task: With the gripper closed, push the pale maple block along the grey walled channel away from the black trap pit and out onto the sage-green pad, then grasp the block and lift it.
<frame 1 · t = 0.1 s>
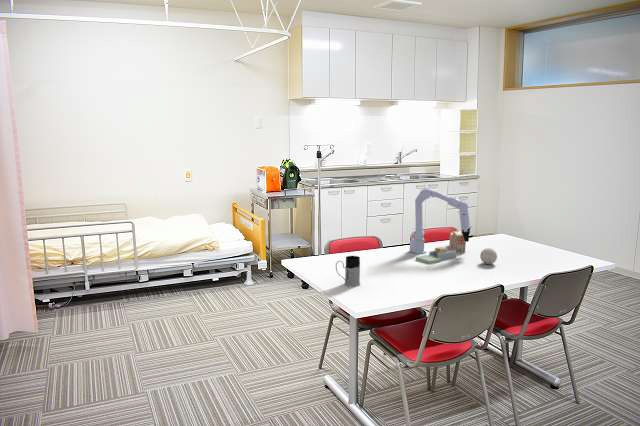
hand: (466, 240, 343), 10 cm above the table, tool pointing down, fingers open, 7 cm apart
stack of blocks: (456, 249, 363), on the table
maple block: (440, 255, 337), point 2 cm above the table, touching trap channel
trap channel: (439, 258, 337), on the table
eye model: (488, 264, 325), on the table
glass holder: (347, 285, 282), on the table
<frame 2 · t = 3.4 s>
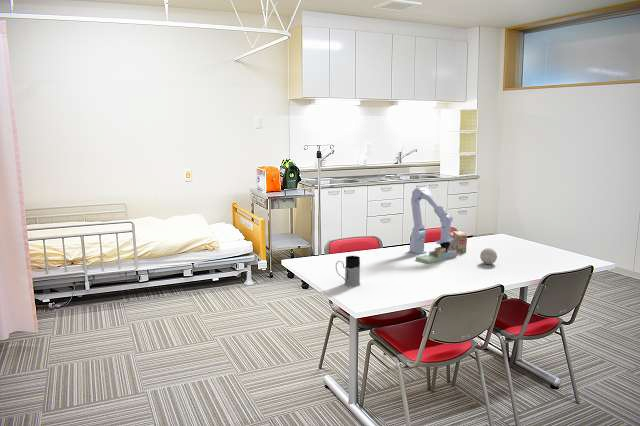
hand: (444, 253, 339), 3 cm above the table, tool pointing down, fingers closed
maple block: (439, 255, 337), point 2 cm above the table, touching gripper
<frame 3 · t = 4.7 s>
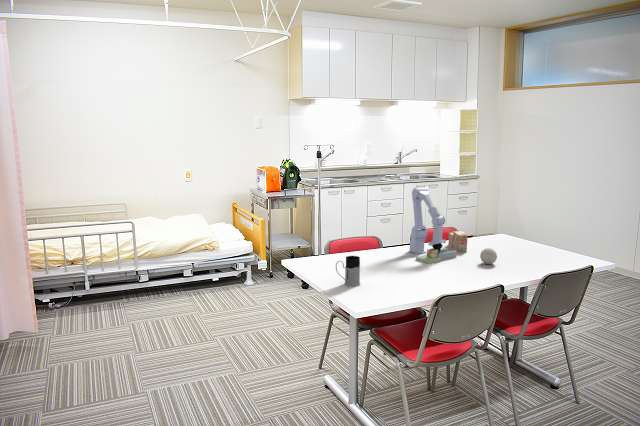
hand: (436, 255, 335), 3 cm above the table, tool pointing down, fingers closed
maple block: (432, 257, 332), point 2 cm above the table, touching gripper, trap channel
everything else where it was.
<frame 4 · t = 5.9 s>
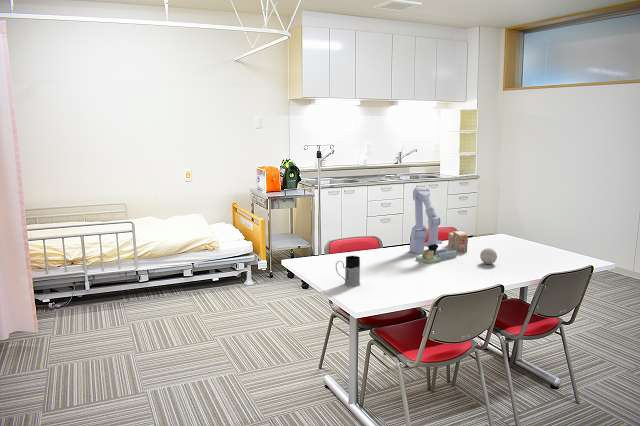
hand: (432, 256, 333), 3 cm above the table, tool pointing down, fingers closed
maple block: (427, 258, 330), point 2 cm above the table, touching gripper, trap channel
everything else where it was.
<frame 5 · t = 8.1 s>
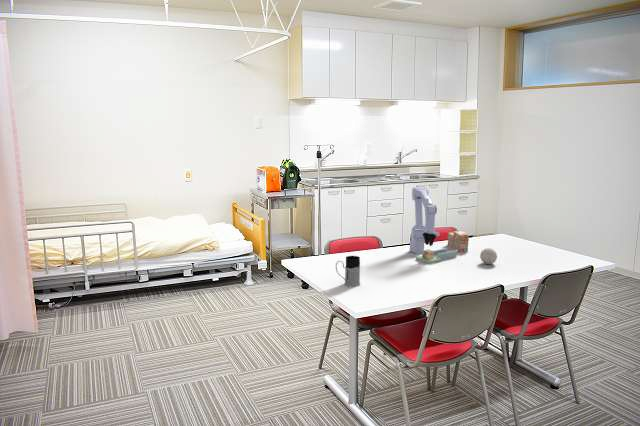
hand: (429, 245, 329), 10 cm above the table, tool pointing down, fingers open, 3 cm apart
maple block: (427, 258, 330), point 2 cm above the table, touching trap channel
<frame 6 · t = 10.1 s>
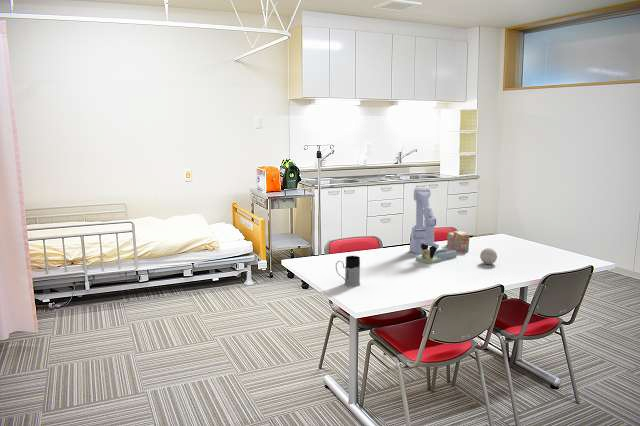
hand: (428, 256, 330), 3 cm above the table, tool pointing down, fingers closed on maple block, 5 cm apart
maple block: (427, 258, 330), point 2 cm above the table, touching gripper, trap channel
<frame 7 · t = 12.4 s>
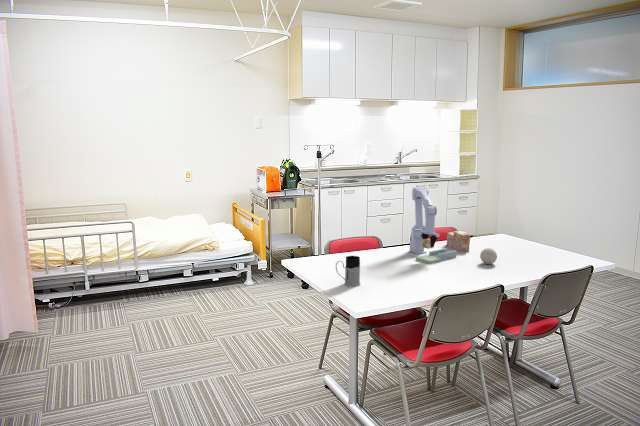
hand: (428, 246, 329), 10 cm above the table, tool pointing down, fingers closed on maple block, 5 cm apart
maple block: (427, 247, 329), point 9 cm above the table, touching gripper
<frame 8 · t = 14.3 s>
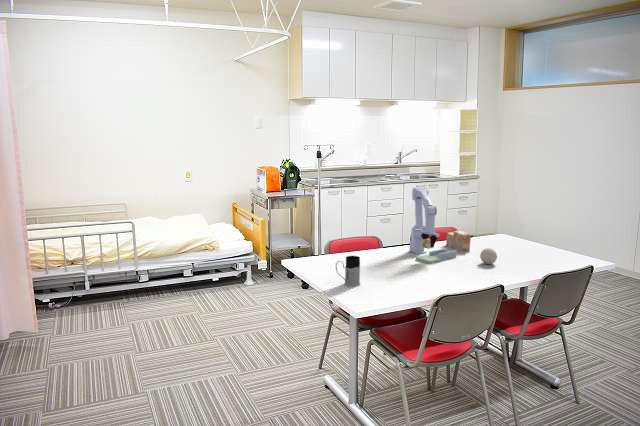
hand: (428, 246, 329), 10 cm above the table, tool pointing down, fingers closed on maple block, 5 cm apart
maple block: (427, 247, 329), point 9 cm above the table, touching gripper
at the end: maple block inside the target area on the trap channel (1.4 cm from its centre), point 9.0 cm above the trap channel's base; the gripper is holding maple block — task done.
